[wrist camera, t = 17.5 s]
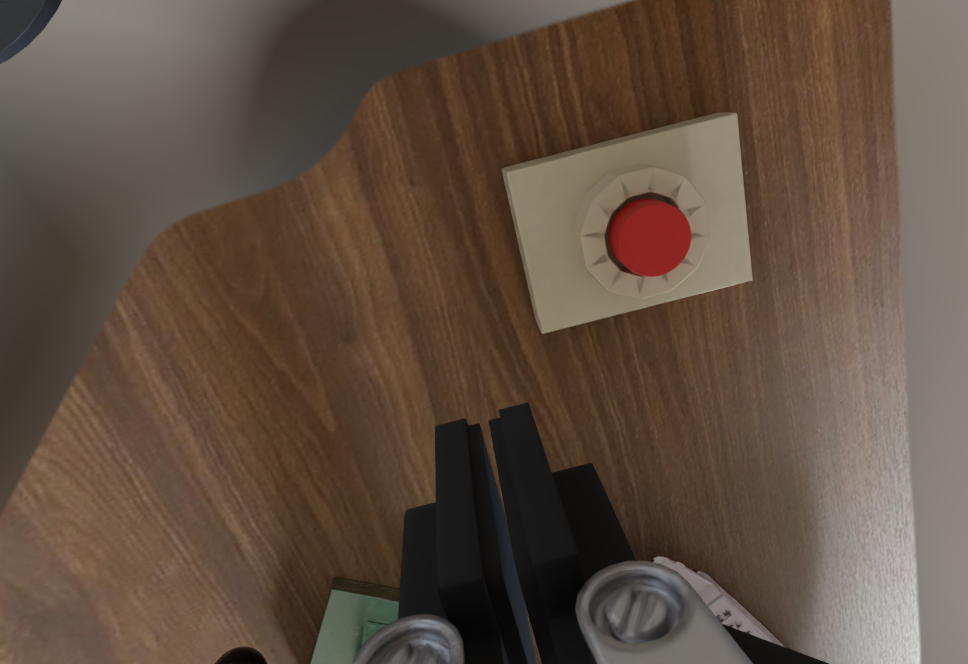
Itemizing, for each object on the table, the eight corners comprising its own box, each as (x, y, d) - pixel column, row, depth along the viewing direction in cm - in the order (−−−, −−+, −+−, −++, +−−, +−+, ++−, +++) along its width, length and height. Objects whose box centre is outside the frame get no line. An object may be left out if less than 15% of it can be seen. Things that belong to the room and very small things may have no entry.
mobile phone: (666, 552, 36) (888, 767, 43) (637, 494, 42) (837, 692, 48) (586, 613, 37) (814, 812, 44) (568, 547, 43) (773, 734, 50)
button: (614, 276, 32) (624, 285, 31) (602, 208, 31) (612, 213, 30) (682, 258, 32) (696, 266, 31) (673, 190, 31) (686, 194, 30)
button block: (535, 321, 37) (547, 346, 33) (501, 168, 34) (509, 175, 30) (735, 270, 37) (769, 289, 33) (718, 112, 34) (755, 112, 30)
